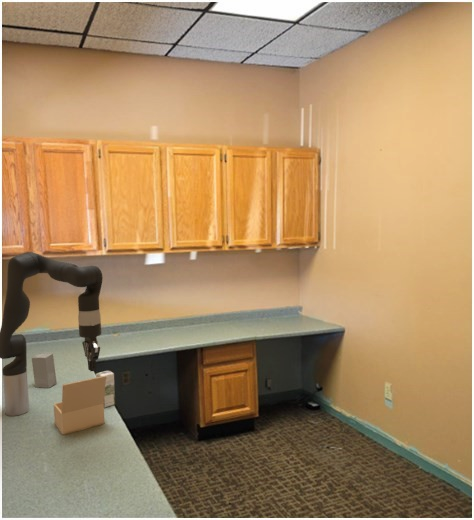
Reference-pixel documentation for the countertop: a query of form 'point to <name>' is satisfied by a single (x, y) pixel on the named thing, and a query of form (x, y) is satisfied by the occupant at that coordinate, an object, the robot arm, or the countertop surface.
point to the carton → (78, 418)
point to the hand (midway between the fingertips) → (92, 370)
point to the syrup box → (108, 388)
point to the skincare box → (44, 370)
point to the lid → (83, 394)
